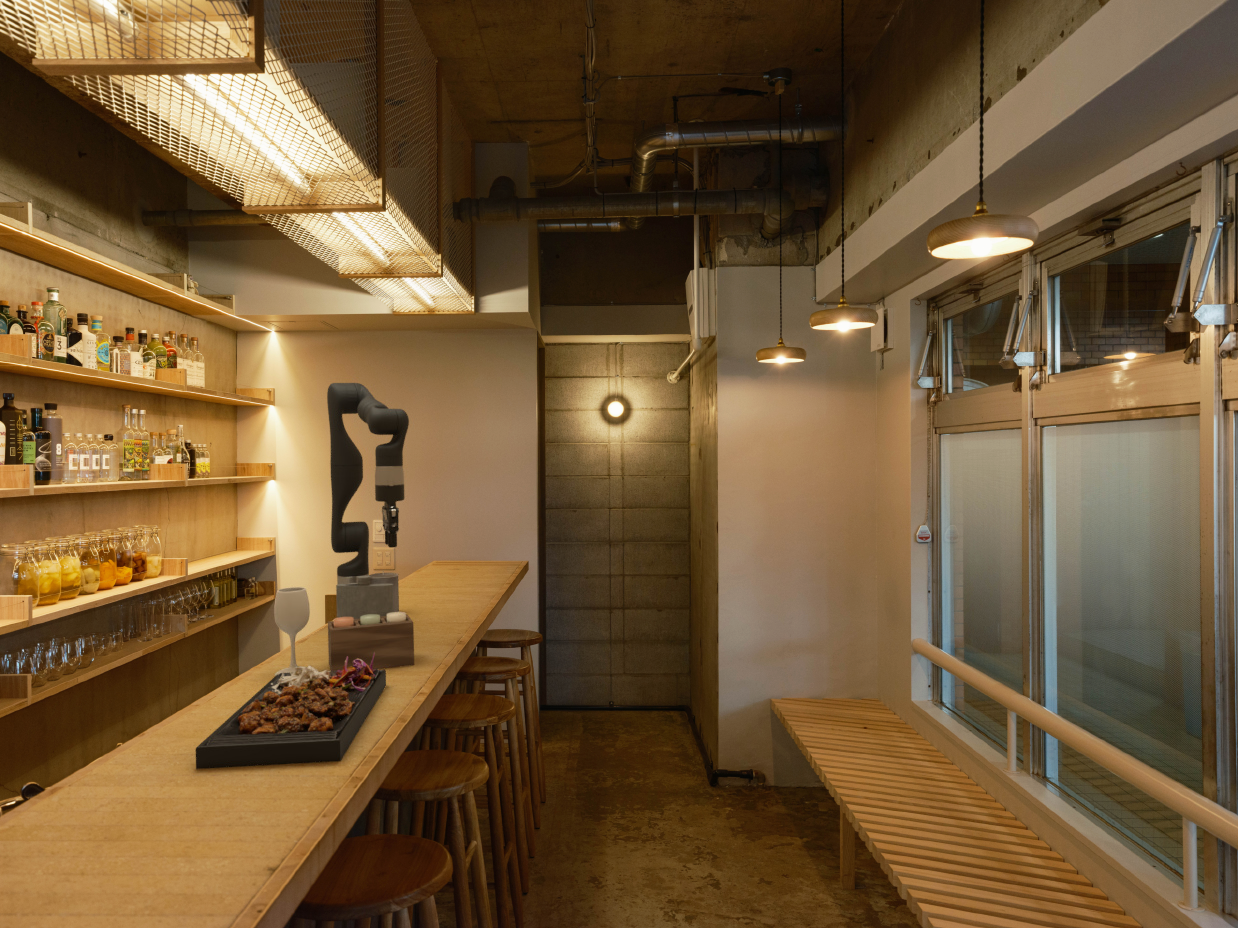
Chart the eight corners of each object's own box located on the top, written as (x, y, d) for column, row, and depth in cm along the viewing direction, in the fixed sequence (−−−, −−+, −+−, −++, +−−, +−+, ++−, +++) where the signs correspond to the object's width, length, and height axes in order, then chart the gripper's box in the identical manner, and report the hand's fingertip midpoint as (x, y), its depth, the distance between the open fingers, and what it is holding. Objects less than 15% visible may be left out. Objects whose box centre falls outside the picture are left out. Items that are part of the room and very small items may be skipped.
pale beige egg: (385, 626, 210) (385, 612, 210) (404, 624, 212) (404, 611, 212) (388, 629, 206) (387, 616, 206) (407, 627, 207) (407, 614, 207)
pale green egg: (359, 628, 207) (359, 615, 207) (379, 626, 209) (378, 613, 209) (361, 632, 203) (361, 618, 203) (381, 630, 205) (381, 616, 205)
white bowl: (266, 675, 197) (264, 591, 197) (295, 666, 205) (293, 585, 204) (291, 680, 193) (289, 593, 193) (319, 670, 201) (317, 587, 200)
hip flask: (395, 645, 226) (394, 574, 226) (391, 648, 222) (389, 576, 222) (340, 645, 227) (338, 574, 226) (334, 648, 223) (332, 577, 222)
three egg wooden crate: (328, 663, 208) (327, 621, 207) (407, 654, 215) (406, 614, 215) (331, 674, 197) (330, 630, 197) (414, 664, 205) (413, 622, 205)
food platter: (277, 693, 185) (276, 649, 185) (386, 688, 188) (385, 644, 188) (196, 772, 141) (194, 714, 140) (340, 764, 143) (339, 707, 143)
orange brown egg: (333, 631, 205) (332, 617, 205) (352, 629, 207) (352, 615, 207) (334, 635, 200) (334, 621, 200) (354, 633, 202) (354, 619, 202)
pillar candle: (367, 614, 268) (365, 570, 267) (396, 611, 272) (395, 567, 271) (371, 620, 259) (370, 574, 258) (401, 617, 263) (400, 571, 262)
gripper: (372, 482, 220) (373, 543, 220) (378, 484, 207) (379, 549, 207) (400, 481, 223) (401, 542, 223) (408, 483, 210) (409, 548, 210)
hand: (391, 545), depth 215 cm, fingers open, 5 cm apart
